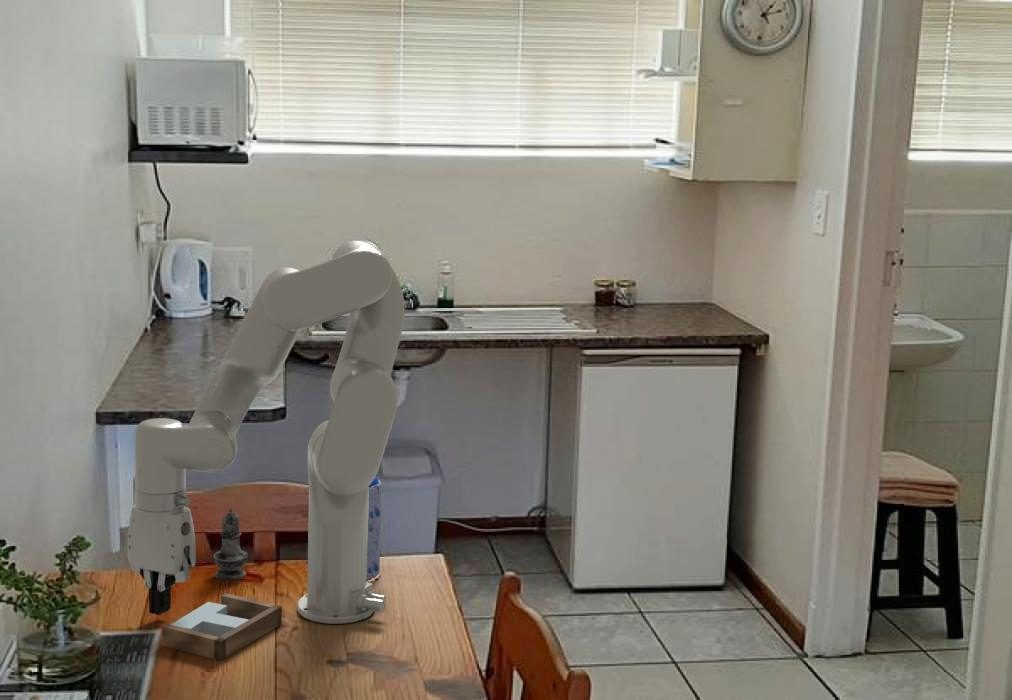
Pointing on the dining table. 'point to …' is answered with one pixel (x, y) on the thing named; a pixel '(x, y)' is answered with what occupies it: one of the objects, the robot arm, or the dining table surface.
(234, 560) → the grey stone statue
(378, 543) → the aerosol can
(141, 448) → the robot arm
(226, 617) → the t block
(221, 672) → the dining table surface
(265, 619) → the corral
